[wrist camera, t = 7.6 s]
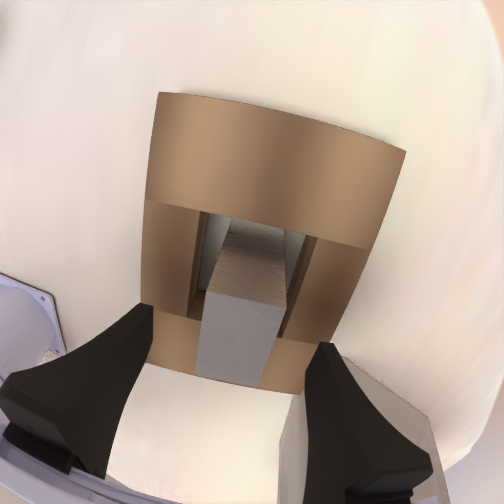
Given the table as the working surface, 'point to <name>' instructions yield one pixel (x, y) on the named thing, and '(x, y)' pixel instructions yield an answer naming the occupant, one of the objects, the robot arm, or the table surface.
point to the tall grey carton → (395, 413)
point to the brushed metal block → (243, 304)
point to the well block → (258, 218)
